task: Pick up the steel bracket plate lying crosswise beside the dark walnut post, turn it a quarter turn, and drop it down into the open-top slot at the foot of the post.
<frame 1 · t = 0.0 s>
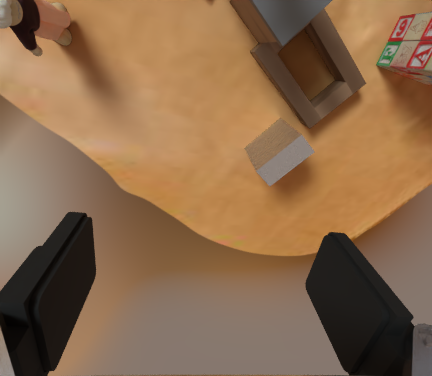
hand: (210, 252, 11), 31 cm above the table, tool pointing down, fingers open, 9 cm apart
post socket: (304, 66, 37), on the table
grandmother figurine: (58, 19, 33), on the table
steel bracket: (267, 140, 42), on the table
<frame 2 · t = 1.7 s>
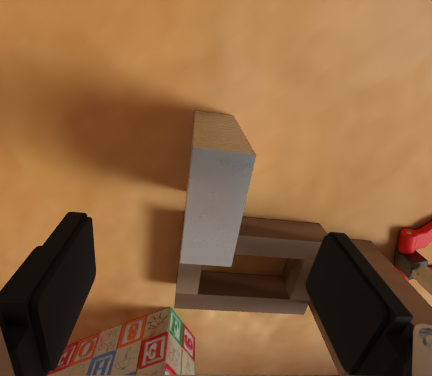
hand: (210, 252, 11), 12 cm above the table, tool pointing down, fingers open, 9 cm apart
post socket: (244, 255, 27), on the table
steel bracket: (208, 155, 22), on the table
stack of blocks: (106, 347, 33), on the table
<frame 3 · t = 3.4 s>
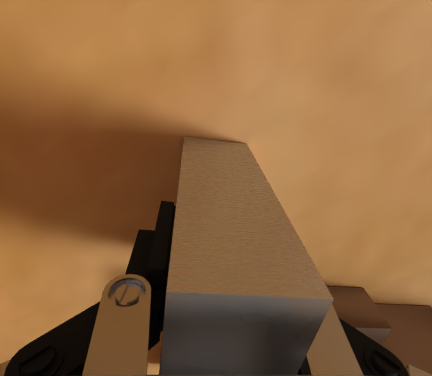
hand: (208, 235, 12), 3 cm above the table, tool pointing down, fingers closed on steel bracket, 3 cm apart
post socket: (256, 328, 19), on the table
steel bracket: (206, 203, 14), on the table, touching gripper
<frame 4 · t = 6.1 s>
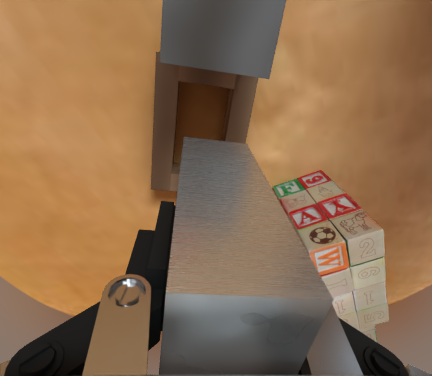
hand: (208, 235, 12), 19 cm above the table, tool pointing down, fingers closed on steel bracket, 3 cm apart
post socket: (200, 126, 28), on the table
steel bracket: (206, 203, 14), point 16 cm above the table, touching gripper
stack of blocks: (309, 241, 37), on the table
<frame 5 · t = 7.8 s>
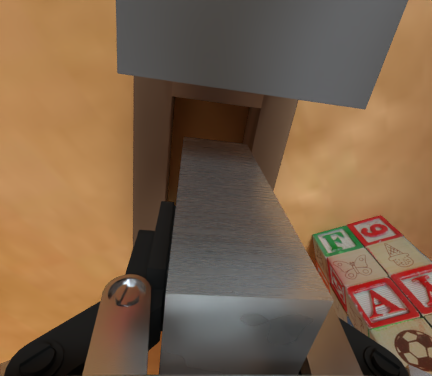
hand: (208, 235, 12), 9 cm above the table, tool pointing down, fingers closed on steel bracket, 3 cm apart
post socket: (205, 158, 19), on the table
steel bracket: (206, 204, 14), point 6 cm above the table, touching gripper
stack of blocks: (351, 299, 28), on the table
when the fingers open (5 cm above the table, at t = 9.3 s): steel bracket drops 2 cm, resting in post socket.
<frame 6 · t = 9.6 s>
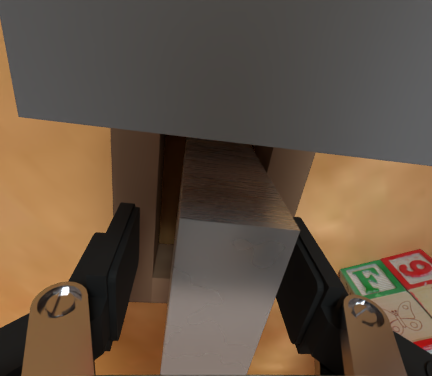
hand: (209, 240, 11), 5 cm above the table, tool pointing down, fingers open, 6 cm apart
post socket: (204, 186, 16), on the table
steel bracket: (206, 185, 16), resting in post socket
stack of blocks: (374, 338, 25), on the table
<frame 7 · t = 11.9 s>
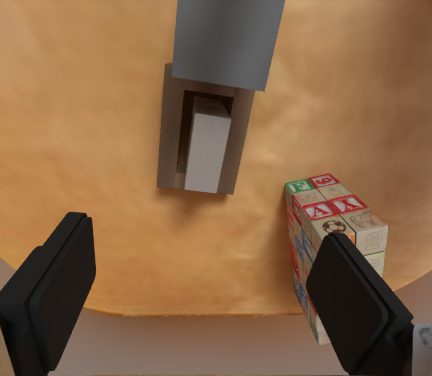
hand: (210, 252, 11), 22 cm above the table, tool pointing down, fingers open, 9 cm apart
post socket: (202, 129, 31), on the table
steel bracket: (203, 129, 31), resting in post socket
stack of blocks: (309, 238, 40), on the table
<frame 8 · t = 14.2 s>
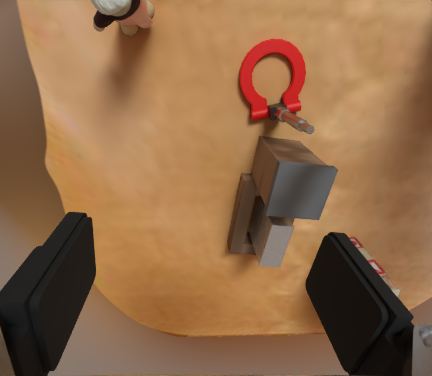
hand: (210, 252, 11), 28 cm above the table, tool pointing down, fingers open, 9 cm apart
post socket: (260, 211, 44), on the table
grandmother figurine: (139, 11, 31), on the table
tow hook: (270, 79, 35), on the table
steel bracket: (261, 211, 44), resting in post socket
stack of blocks: (335, 279, 53), on the table
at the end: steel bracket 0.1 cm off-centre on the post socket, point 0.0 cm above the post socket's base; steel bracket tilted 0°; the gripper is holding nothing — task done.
